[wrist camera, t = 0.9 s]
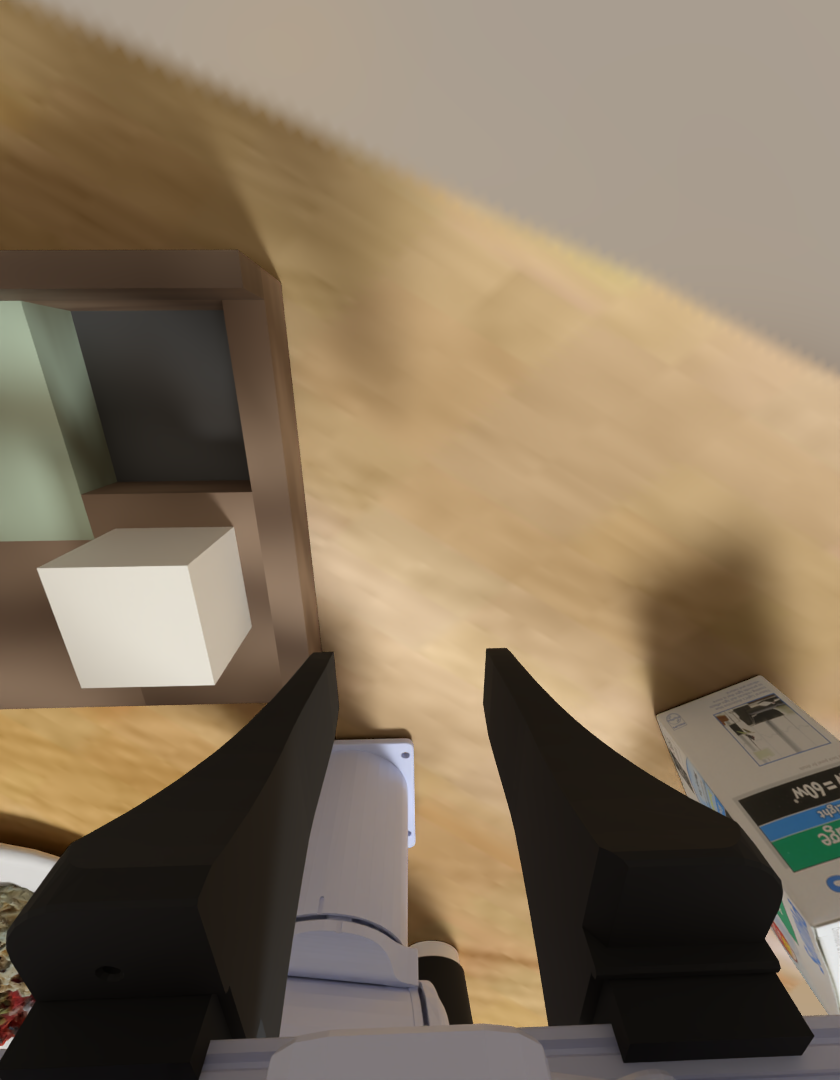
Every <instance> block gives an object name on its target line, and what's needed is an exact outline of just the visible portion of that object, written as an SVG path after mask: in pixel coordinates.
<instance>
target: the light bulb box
mask: <svg viewBox="0 0 840 1080" xmlns="http://www.w3.org/2000/svg"><path fill="white" fill-rule="evenodd" d="M656 718H657V721H658V723H659V726H660V729H661V731H662V734H663V736H664V739H665V741H666V744H667V746H668V749H669V751H670V754H671V756H672V759H673V761H674V764H675V766H676V769H677V772H678V774H679V776H680V779H681V782H682V784H683V787H684V789H685V792H686V794H687V797H689V798H691V799H693V800H695V801H697V802H699V803H701V804H703V805H705V806H707V807H709V808H711V809H713V810H715V811H717V812H719V813H720V814H722V815H724V816H726V817H728V818H730V819H732V820H734V821H736V822H737V823H738V824H739V825H740V826H741V828H742V829H743V830H744V831H745V832H746V834H747V835H748V836H749V837H750V839H751V840H752V841H753V842H754V843H755V845H756V846H757V848H758V849H759V850H760V852H761V853H762V855H763V856H764V857H765V859H766V860H767V861H768V863H769V864H770V866H771V867H772V868H773V870H774V871H775V873H776V874H777V875H778V877H779V878H780V879H781V881H782V887H783V898H782V901H781V905H780V908H779V911H778V913H777V915H776V917H775V919H774V921H773V923H772V925H771V927H770V928H771V929H772V931H773V932H774V934H775V935H776V937H777V938H778V940H779V941H780V943H781V944H782V946H783V947H784V949H785V950H786V952H787V953H788V955H789V957H790V958H791V960H792V961H793V963H794V964H795V966H796V967H797V969H798V970H799V971H800V973H801V974H802V976H803V977H804V979H805V981H806V982H807V984H808V985H809V986H810V988H811V990H812V991H813V993H814V994H815V995H816V997H817V999H818V1000H819V1002H820V1003H821V1005H822V1006H823V1007H824V1009H825V1010H826V1012H827V1013H828V1015H840V741H839V740H838V739H837V738H836V737H834V736H833V735H832V734H831V733H830V732H829V731H827V730H826V729H825V728H824V727H823V726H821V725H820V724H819V723H818V722H816V721H815V720H814V719H813V718H812V717H811V716H809V715H808V714H807V713H806V712H805V711H804V710H802V709H801V708H800V707H799V706H797V705H796V704H795V703H794V702H793V701H791V700H790V699H789V698H788V697H787V696H786V695H784V694H783V693H782V692H781V691H780V690H778V689H777V688H776V687H775V686H774V685H772V684H771V683H770V682H769V681H768V680H766V679H765V678H764V677H763V676H761V675H758V676H756V677H754V678H751V679H749V680H746V681H744V682H741V683H738V684H736V685H733V686H730V687H728V688H725V689H723V690H720V691H717V692H715V693H712V694H710V695H707V696H704V697H702V698H699V699H697V700H694V701H692V702H689V703H686V704H684V705H681V706H678V707H676V708H673V709H670V710H668V711H665V712H662V713H660V714H658V715H657V716H656Z"/></svg>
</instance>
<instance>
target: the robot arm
mask: <svg viewBox="0 0 840 1080" xmlns="http://www.w3.org/2000/svg"><path fill="white" fill-rule="evenodd" d="M483 706H484V712H485V718H486V724H487V730H488V736H489V740H490V743H491V747H492V750H493V754H494V758H495V761H496V765H497V768H498V772H499V775H500V779H501V782H502V786H503V789H504V792H505V796H506V799H507V803H508V806H509V810H510V814H511V818H512V822H513V826H514V830H515V835H516V840H517V846H518V851H519V856H520V861H521V866H522V872H523V877H524V883H525V888H526V894H527V899H528V905H529V910H530V916H531V922H532V928H533V934H534V940H535V946H536V951H537V957H538V963H539V969H540V975H541V982H542V988H543V995H544V1001H545V1007H546V1014H547V1020H548V1026H546V1027H522V1028H515V1027H512V1026H502V1025H492V1024H462V1025H449V1021H448V1017H447V1014H446V1011H445V1008H444V1006H443V1004H442V1002H441V1001H440V999H439V997H438V994H437V992H436V990H435V987H434V986H433V984H432V983H431V982H430V981H428V980H418V950H417V949H416V948H412V947H408V848H411V847H413V846H414V845H415V798H414V744H413V742H412V740H410V739H407V738H395V739H357V740H334V739H335V732H336V726H337V719H338V711H339V701H338V691H337V680H336V670H335V660H334V652H313V653H312V654H311V655H310V656H309V657H308V658H307V659H306V661H305V662H304V663H303V664H302V665H301V667H300V668H299V669H298V670H297V671H296V673H295V674H294V675H293V676H292V677H291V678H290V680H289V681H288V682H287V683H286V684H285V685H284V686H283V687H282V689H281V690H280V691H279V692H278V693H277V694H276V695H275V696H274V697H273V698H272V700H271V701H270V702H269V703H268V704H267V705H266V706H265V707H264V708H263V709H262V710H261V711H260V712H259V713H258V714H257V715H256V716H255V717H254V718H253V719H252V720H251V721H250V722H249V723H248V724H247V725H246V726H245V727H244V728H242V729H241V730H240V731H239V732H238V733H237V734H236V735H235V736H234V737H232V738H231V739H230V740H229V741H228V742H227V743H225V744H224V745H223V746H222V747H221V748H220V749H218V750H217V751H216V752H215V753H213V754H212V755H211V756H209V757H208V758H207V759H205V760H204V761H203V762H201V763H200V764H199V765H197V766H196V767H194V768H193V769H192V770H190V771H189V772H188V773H186V774H185V775H184V776H182V777H181V778H180V779H178V780H177V781H175V782H174V783H172V784H171V785H169V786H168V787H166V788H165V789H163V790H162V791H160V792H159V793H157V794H156V795H154V796H152V797H151V798H149V799H148V800H146V801H145V802H143V803H141V804H140V805H138V806H137V807H135V808H133V809H132V810H130V811H128V812H127V813H125V814H123V815H121V816H120V817H118V818H116V819H114V820H113V821H111V822H109V823H107V824H105V825H104V826H102V827H100V828H98V829H96V830H95V831H93V832H91V833H89V834H88V835H86V836H84V837H82V838H80V839H78V840H76V841H75V842H73V843H71V844H70V846H69V847H68V848H67V849H66V851H65V852H64V853H63V854H62V856H61V857H60V858H59V860H58V861H57V862H56V863H55V865H54V866H53V867H52V869H51V870H50V871H49V873H48V874H47V876H46V877H45V878H44V880H43V881H42V883H41V884H40V885H39V887H38V888H37V890H36V891H35V892H34V894H33V895H32V896H31V898H30V899H29V901H28V902H27V903H26V905H25V906H24V908H23V909H22V910H21V912H20V913H19V915H18V916H17V917H16V919H15V920H14V922H13V923H12V925H11V926H10V928H9V929H8V930H7V934H6V950H7V953H8V955H9V958H10V960H11V962H12V964H13V966H14V967H15V969H16V970H17V972H18V973H19V975H20V977H21V978H22V980H23V981H24V983H25V984H26V986H27V988H28V989H29V991H30V992H31V994H32V995H33V997H34V999H35V1000H36V1001H35V1003H34V1005H33V1006H32V1008H31V1010H30V1011H29V1013H28V1015H27V1016H26V1018H25V1020H24V1021H23V1023H22V1025H21V1026H20V1028H19V1030H18V1031H17V1033H16V1035H15V1036H14V1038H13V1040H12V1041H11V1043H10V1045H9V1046H8V1048H7V1049H0V1080H840V1015H816V1016H802V1015H801V1013H800V1012H799V1010H798V1008H797V1007H796V1005H795V1004H794V1002H793V1000H792V999H791V997H790V995H789V994H788V992H787V991H786V989H785V987H784V986H783V984H782V982H781V981H780V979H779V978H778V976H777V974H776V973H778V972H779V971H780V969H781V967H780V964H779V961H778V959H777V958H776V956H775V954H774V953H773V951H772V950H771V948H770V947H769V945H768V943H767V942H766V940H765V937H766V935H767V933H768V931H769V929H770V927H771V925H772V923H773V921H774V919H775V917H776V915H777V913H778V911H779V908H780V905H781V901H782V898H783V887H782V881H781V879H780V878H779V877H778V875H777V874H776V873H775V871H774V870H773V868H772V867H771V866H770V864H769V863H768V861H767V860H766V859H765V857H764V856H763V855H762V853H761V852H760V850H759V849H758V848H757V846H756V845H755V843H754V842H753V841H752V840H751V839H750V837H749V836H748V835H747V834H746V832H745V831H744V830H743V829H742V828H741V826H740V825H739V824H738V823H737V822H736V821H734V820H732V819H730V818H728V817H726V816H724V815H722V814H720V813H719V812H717V811H715V810H713V809H711V808H709V807H707V806H705V805H703V804H701V803H699V802H697V801H695V800H693V799H691V798H689V797H687V796H686V795H684V794H682V793H680V792H679V791H677V790H675V789H673V788H672V787H670V786H668V785H667V784H665V783H663V782H662V781H660V780H658V779H656V778H655V777H653V776H652V775H650V774H648V773H647V772H645V771H644V770H642V769H641V768H639V767H637V766H636V765H634V764H633V763H632V762H630V761H629V760H627V759H626V758H624V757H623V756H621V755H620V754H618V753H617V752H616V751H614V750H613V749H611V748H610V747H609V746H607V745H606V744H605V743H603V742H602V741H601V740H599V739H598V738H597V737H596V736H594V735H593V734H592V733H591V732H589V731H588V730H587V729H586V728H584V727H583V726H582V725H581V724H580V723H578V722H577V721H576V720H575V719H574V718H573V717H572V716H570V715H569V714H568V713H567V712H566V711H565V710H564V709H563V708H562V707H561V706H560V705H559V704H558V703H557V702H556V701H555V700H554V699H553V698H552V697H551V696H550V695H549V694H548V693H547V692H546V691H545V690H544V689H543V688H542V687H541V686H540V685H539V684H538V683H537V682H536V681H535V680H534V678H533V677H532V676H531V675H530V674H529V673H528V672H527V671H526V669H525V668H524V667H523V666H522V665H521V664H520V663H519V661H518V660H517V659H516V658H515V657H514V655H513V654H512V653H511V652H510V651H509V650H508V649H507V648H489V649H486V662H485V680H484V697H483ZM404 752H408V753H404Z"/></svg>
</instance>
